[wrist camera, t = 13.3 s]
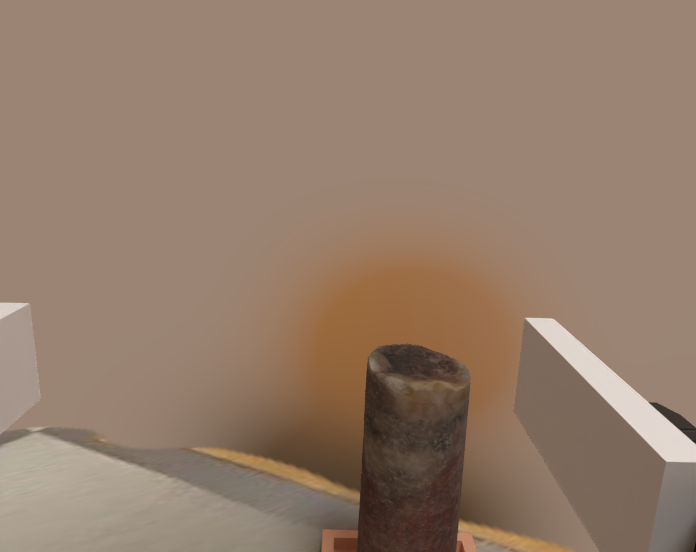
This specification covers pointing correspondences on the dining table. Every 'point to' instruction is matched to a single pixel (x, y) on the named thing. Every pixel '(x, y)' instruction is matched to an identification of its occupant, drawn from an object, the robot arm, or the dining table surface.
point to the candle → (412, 450)
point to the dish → (343, 543)
